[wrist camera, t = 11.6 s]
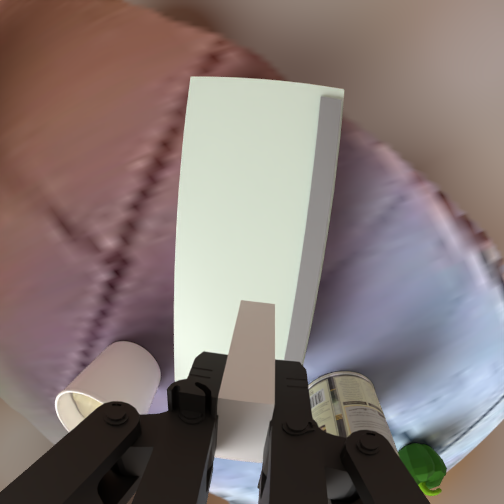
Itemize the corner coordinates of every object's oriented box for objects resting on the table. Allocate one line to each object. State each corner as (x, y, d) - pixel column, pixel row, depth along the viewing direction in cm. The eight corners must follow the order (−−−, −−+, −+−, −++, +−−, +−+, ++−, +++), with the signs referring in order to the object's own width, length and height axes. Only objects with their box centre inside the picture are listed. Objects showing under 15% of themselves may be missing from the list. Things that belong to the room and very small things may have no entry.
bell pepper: (376, 464, 41) (387, 511, 31) (407, 433, 39) (425, 480, 29) (412, 468, 41) (425, 510, 32) (442, 438, 39) (461, 481, 29)
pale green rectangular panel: (177, 377, 31) (173, 384, 30) (193, 79, 23) (189, 75, 22) (294, 396, 30) (294, 404, 28) (342, 91, 22) (345, 87, 21)
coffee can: (358, 430, 39) (376, 508, 25) (288, 422, 39) (289, 507, 25) (388, 374, 36) (423, 454, 22) (311, 364, 36) (324, 454, 23)
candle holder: (90, 364, 39) (47, 416, 27) (117, 320, 37) (67, 374, 25) (146, 406, 40) (116, 466, 28) (181, 368, 38) (150, 435, 26)
